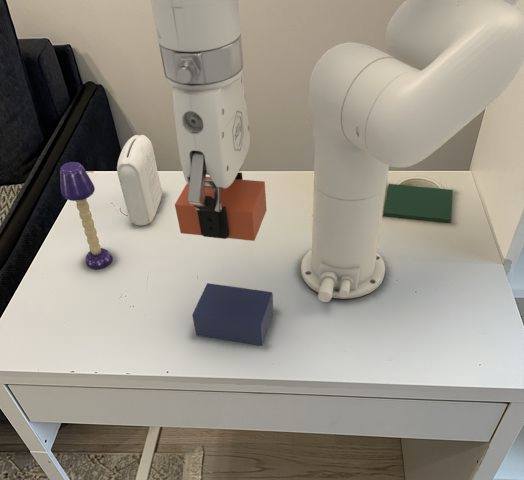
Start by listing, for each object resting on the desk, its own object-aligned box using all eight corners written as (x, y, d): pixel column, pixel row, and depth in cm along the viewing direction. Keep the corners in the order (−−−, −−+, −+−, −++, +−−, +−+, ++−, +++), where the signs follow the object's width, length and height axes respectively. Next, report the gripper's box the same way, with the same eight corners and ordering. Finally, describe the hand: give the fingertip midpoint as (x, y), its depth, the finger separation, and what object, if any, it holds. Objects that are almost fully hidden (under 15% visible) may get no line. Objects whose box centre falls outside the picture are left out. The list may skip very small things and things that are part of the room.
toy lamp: (111, 248, 90) (82, 154, 77) (120, 264, 87) (90, 169, 74) (83, 258, 88) (48, 163, 76) (90, 274, 85) (55, 179, 73)
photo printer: (142, 192, 100) (126, 127, 91) (165, 193, 100) (151, 127, 90) (128, 226, 93) (109, 160, 84) (152, 227, 93) (136, 160, 84)
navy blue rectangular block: (262, 345, 74) (260, 325, 71) (196, 335, 76) (191, 314, 73) (273, 312, 78) (272, 291, 75) (210, 303, 80) (207, 282, 77)
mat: (450, 222, 90) (451, 219, 90) (383, 215, 92) (383, 212, 92) (451, 192, 96) (452, 189, 95) (388, 186, 98) (388, 183, 97)
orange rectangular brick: (254, 241, 62) (252, 211, 59) (180, 233, 64) (174, 204, 61) (266, 210, 66) (264, 181, 63) (196, 203, 68) (191, 175, 65)
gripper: (214, 102, 45) (234, 269, 58) (262, 24, 56) (271, 181, 69) (129, 97, 46) (169, 262, 60) (193, 22, 57) (214, 176, 71)
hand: (223, 217), depth 64 cm, fingers closed on orange rectangular brick, 6 cm apart
